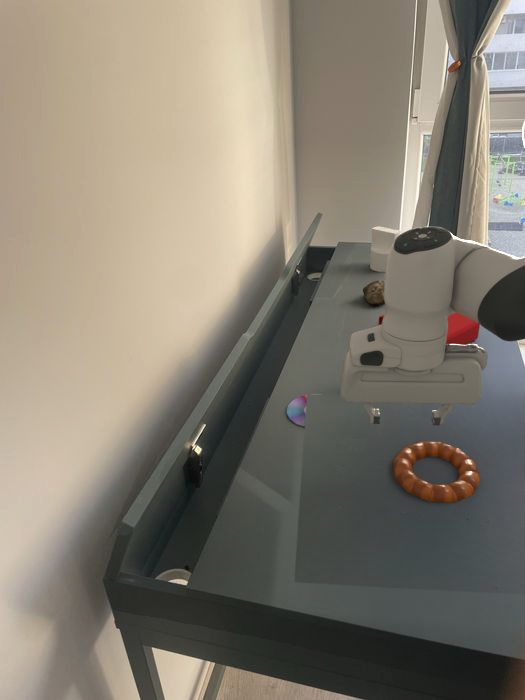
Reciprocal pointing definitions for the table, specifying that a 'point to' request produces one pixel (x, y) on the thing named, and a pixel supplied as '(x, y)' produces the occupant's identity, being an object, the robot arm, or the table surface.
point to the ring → (426, 490)
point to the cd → (298, 410)
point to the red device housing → (458, 329)
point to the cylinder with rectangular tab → (381, 247)
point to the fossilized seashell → (375, 292)
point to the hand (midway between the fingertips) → (405, 422)
